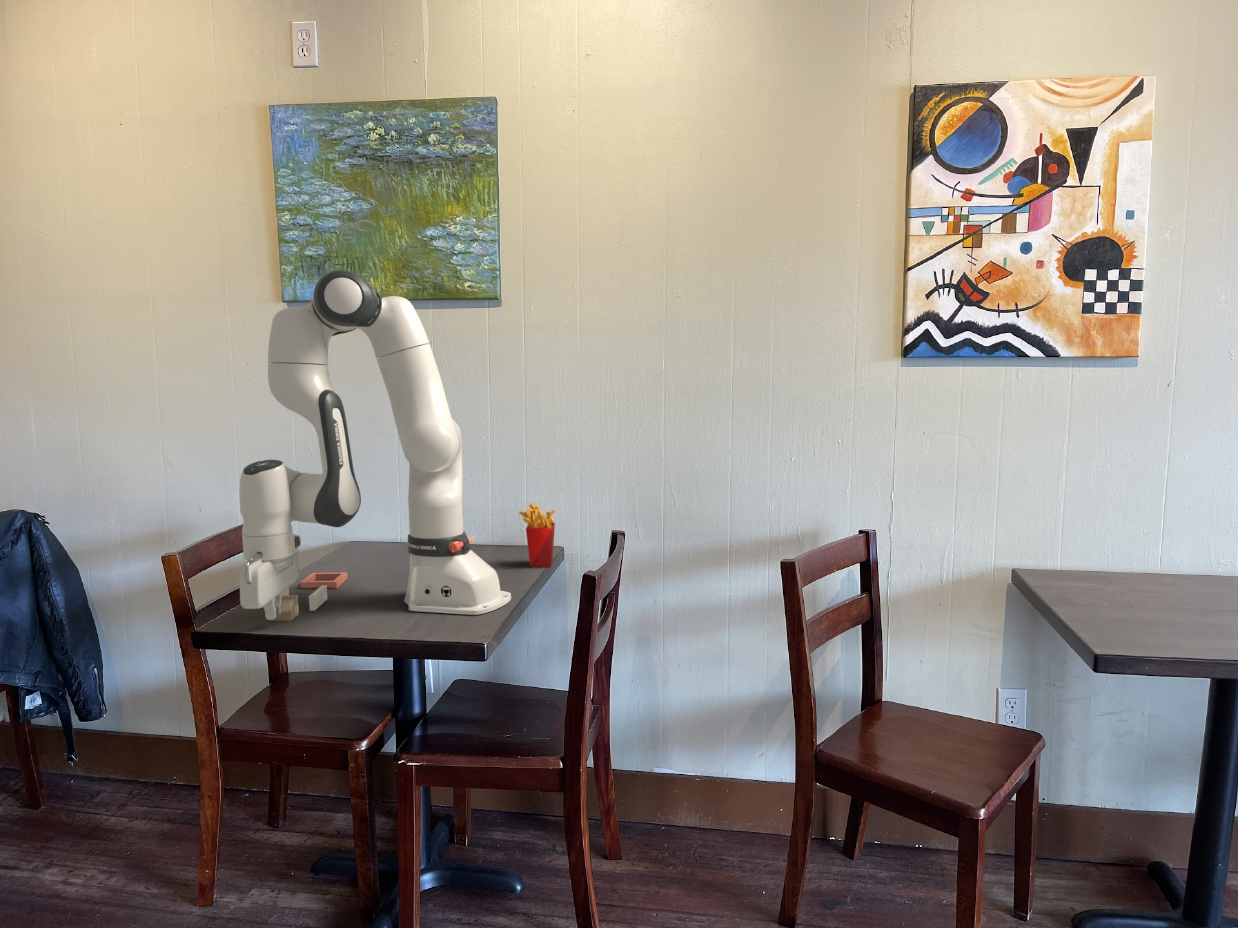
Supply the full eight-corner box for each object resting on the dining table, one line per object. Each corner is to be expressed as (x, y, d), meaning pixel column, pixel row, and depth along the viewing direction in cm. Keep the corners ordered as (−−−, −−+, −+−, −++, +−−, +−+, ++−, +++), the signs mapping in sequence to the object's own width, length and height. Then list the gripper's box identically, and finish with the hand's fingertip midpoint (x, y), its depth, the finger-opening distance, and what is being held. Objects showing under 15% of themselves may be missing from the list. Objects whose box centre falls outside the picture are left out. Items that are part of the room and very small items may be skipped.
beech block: (291, 620, 167) (290, 601, 167) (271, 620, 167) (269, 601, 167) (298, 614, 171) (297, 595, 171) (278, 614, 171) (277, 595, 171)
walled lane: (314, 610, 173) (313, 596, 173) (270, 611, 173) (269, 596, 173) (327, 598, 181) (326, 585, 181) (284, 599, 181) (283, 585, 181)
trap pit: (336, 588, 189) (336, 581, 189) (300, 588, 189) (300, 582, 189) (347, 578, 197) (347, 572, 197) (312, 579, 197) (312, 572, 197)
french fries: (556, 561, 211) (555, 501, 209) (553, 570, 203) (552, 508, 201) (521, 561, 211) (519, 502, 209) (516, 570, 203) (514, 508, 201)
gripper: (263, 560, 151) (268, 635, 153) (303, 534, 171) (308, 601, 173) (227, 560, 151) (233, 635, 153) (272, 535, 171) (276, 601, 173)
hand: (273, 617), depth 163 cm, fingers closed
